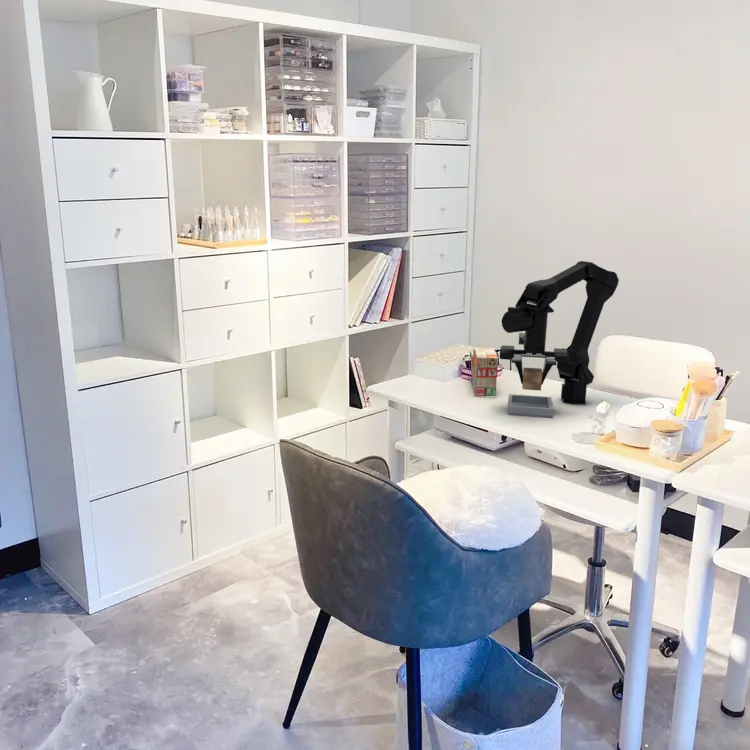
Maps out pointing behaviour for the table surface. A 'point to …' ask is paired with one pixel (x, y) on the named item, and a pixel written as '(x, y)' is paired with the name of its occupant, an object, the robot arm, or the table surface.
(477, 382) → the stack of blocks
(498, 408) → the table surface
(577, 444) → the table surface
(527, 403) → the grey tray
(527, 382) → the walnut cube
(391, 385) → the table surface
